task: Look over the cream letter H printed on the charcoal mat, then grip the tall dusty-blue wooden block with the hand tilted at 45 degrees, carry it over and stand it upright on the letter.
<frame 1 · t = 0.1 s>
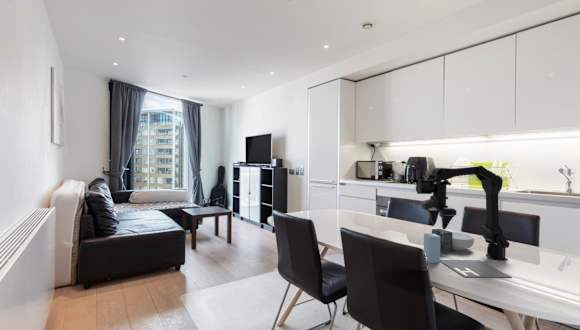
hand: (438, 226, 135), 15 cm above the table, tool pointing down, fingers open, 9 cm apart
cereal bowl: (455, 248, 151), on the table
box: (441, 251, 146), on the table
dusty blue block: (431, 260, 131), on the table
letter mat: (472, 268, 122), on the table
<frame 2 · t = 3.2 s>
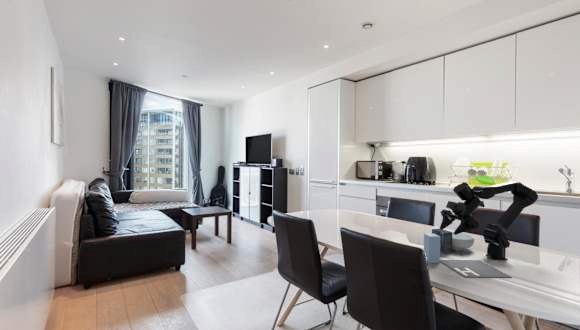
hand: (447, 231, 132), 13 cm above the table, tool tilted 45°, fingers open, 9 cm apart
nothing on the table moved.
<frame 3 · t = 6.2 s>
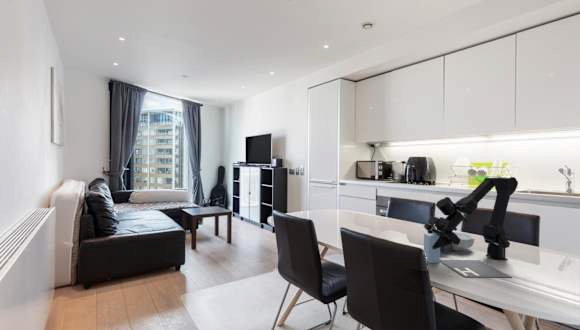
hand: (428, 246, 130), 7 cm above the table, tool tilted 45°, fingers closed on dusty blue block, 5 cm apart
dusty blue block: (431, 260, 131), on the table, touching gripper
everything else where it was.
when the fingers open (8 cm above the table, at t = 10.9 s): dusty blue block stays where it is, resting on letter mat.
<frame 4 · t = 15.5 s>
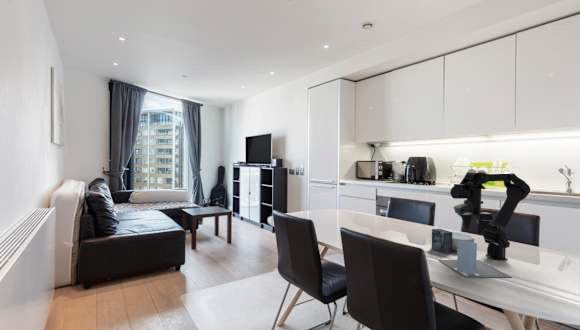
hand: (473, 231, 134), 13 cm above the table, tool pointing down, fingers open, 9 cm apart
dusty blue block: (466, 271, 117), resting on letter mat
everything else where it was.
at the end: dusty blue block 0.1 cm from the target spot, resting on letter mat; dusty blue block tilted 0°; the gripper is holding nothing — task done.
